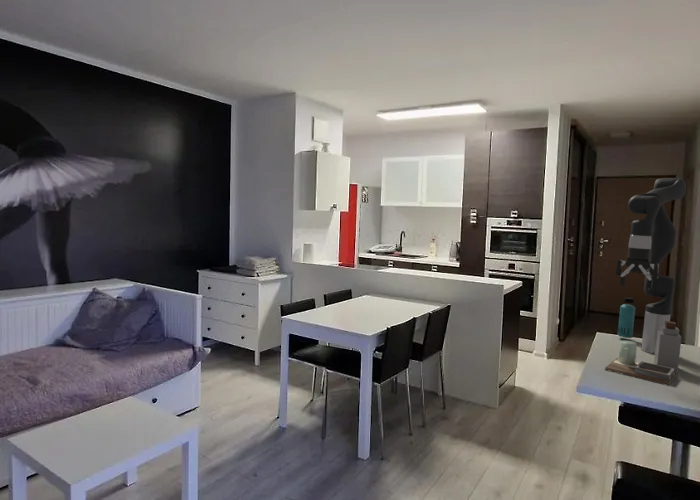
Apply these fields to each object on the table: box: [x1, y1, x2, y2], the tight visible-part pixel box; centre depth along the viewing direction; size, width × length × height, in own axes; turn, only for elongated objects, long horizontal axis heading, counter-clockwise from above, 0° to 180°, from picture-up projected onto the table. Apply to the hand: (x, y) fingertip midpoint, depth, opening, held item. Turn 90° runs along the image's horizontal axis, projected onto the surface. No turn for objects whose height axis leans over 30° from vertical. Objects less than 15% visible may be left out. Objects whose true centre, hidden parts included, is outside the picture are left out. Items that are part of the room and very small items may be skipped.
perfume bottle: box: [653, 320, 682, 373], centre depth 184 cm, size 7×7×18 cm
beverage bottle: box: [617, 297, 636, 339], centre depth 223 cm, size 6×7×20 cm
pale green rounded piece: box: [618, 340, 638, 365], centre depth 183 cm, size 6×8×8 cm
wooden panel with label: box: [605, 357, 678, 386], centre depth 178 cm, size 17×20×3 cm
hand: (635, 287), depth 186 cm, fingers open, 8 cm apart
